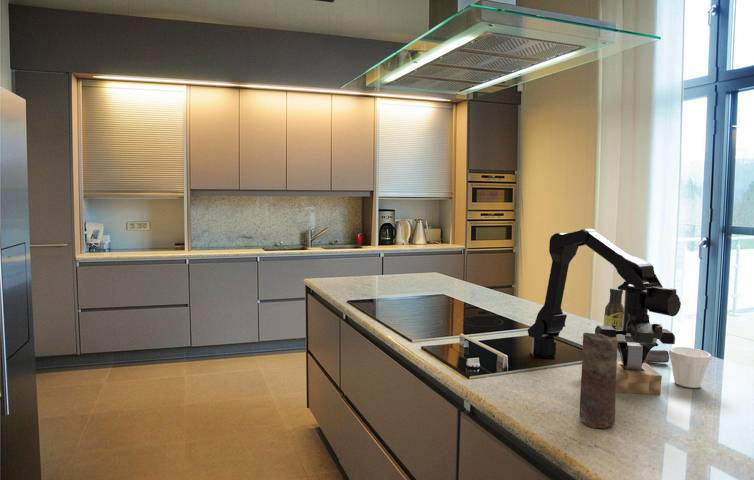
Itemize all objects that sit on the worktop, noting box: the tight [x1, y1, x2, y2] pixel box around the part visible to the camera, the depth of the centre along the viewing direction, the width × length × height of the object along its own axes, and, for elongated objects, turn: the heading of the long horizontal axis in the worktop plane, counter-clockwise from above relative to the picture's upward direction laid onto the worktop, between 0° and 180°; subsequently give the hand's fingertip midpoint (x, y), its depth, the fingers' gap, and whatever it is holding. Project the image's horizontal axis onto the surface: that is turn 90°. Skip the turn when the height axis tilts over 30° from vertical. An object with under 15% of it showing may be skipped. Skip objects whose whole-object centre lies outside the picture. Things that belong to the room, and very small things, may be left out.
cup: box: [668, 346, 712, 389], centre depth 147 cm, size 10×10×9 cm
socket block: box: [616, 360, 663, 396], centre depth 145 cm, size 11×11×5 cm
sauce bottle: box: [602, 287, 624, 330], centre depth 185 cm, size 6×6×20 cm
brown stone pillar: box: [579, 332, 618, 429], centre depth 120 cm, size 8×7×20 cm
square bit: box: [623, 342, 643, 371], centre depth 145 cm, size 4×4×8 cm
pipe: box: [625, 337, 670, 364], centre depth 167 cm, size 6×13×8 cm, turn 78°
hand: (631, 366), depth 145 cm, fingers closed on square bit, 3 cm apart
